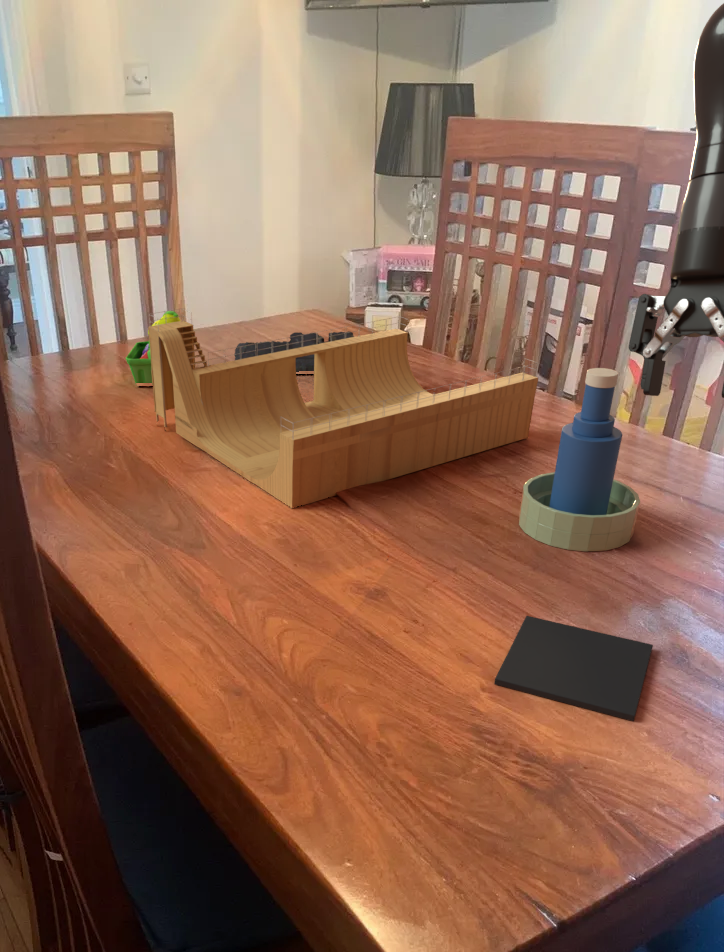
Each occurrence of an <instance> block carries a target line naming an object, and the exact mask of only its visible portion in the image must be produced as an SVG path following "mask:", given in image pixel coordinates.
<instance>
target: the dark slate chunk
mask: <svg viewBox="0 0 724 952" xmlns="http://www.w3.org/2000/svg"><path fill="white" fill-rule="evenodd" d="M348 332H350V333H348ZM310 333H311V334H309V333H303V332H292V333H291V334H290V335H289V337H290V338H289V340H285V341H278V340H274V341H273V340H271V341H269V342H266V340H265V341H260V342H258V341H256V342H249V341H246V342H240V343H238V344H237V345H236V347H237V348H234V354H236V355H234V354H233V356H234V360H239V359H244V358H249V357H254V356H257V353H258V356H260V355H265V354H270V353H275V352H280V351H285V350H290V349H295V348H300V347H305V346H310V345H316V335H317V332H316V333H314V332H310ZM343 333H345V334H343ZM304 334H306V335H304ZM338 334H340V335H338ZM298 335H300V336H298ZM333 335H335V336H333ZM293 336H295V337H293ZM328 336H330V337H328V338H327V339H328V340H327V341H325V337H324V338H322V337H323V336H322V335H320V334H318V338H319V339H318V342H317V344H321V343H326V342H330V340H331V338H332V341H336V340H341V339H344V338H345V339H346V338H351V337H355V335H354V332H353V331H350V330H348V331H337V332H336V331H332V332H329V333H328ZM312 339H314V340H312ZM307 340H309V341H307ZM303 341H304V342H303ZM261 342H263V343H261ZM296 342H298V343H296ZM257 343H258V344H257ZM291 343H293V344H291ZM251 344H253V345H251ZM286 344H287V345H286ZM245 345H247V346H245ZM281 345H283V346H281ZM241 346H242V347H241ZM276 346H278V347H276ZM271 347H272V348H271ZM265 348H267V349H265ZM260 349H262V350H260ZM255 350H256V351H255ZM250 351H252V352H250ZM245 352H247V353H245ZM239 353H240V354H239ZM314 356H315V354H312V355H307V356H302V357H297V358H296V372H299V371H314Z"/></svg>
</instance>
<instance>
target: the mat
mask: <svg viewBox="0 0 724 952" xmlns="http://www.w3.org/2000/svg"><path fill="white" fill-rule="evenodd" d="M653 648H654V646H653V644H651V643H647V642H644V641H643V642H642V641H639V640H634V639H629V638H625V637H621V636H617V635H612V634H608V633H604V632H599V631H595V630H592V629H587V628H582V627H578V626H573V625H570V624H565V623H560V622H556V621H553V620H548V619H543V618H539V617H535V616H531V615H526V616H525V618H524V620H523V622H522V624H521V626H520V628H519V630H518V632H517V633H516V636H515V638H514V640H513V642H512V643H511V646H510V648H509V650H508V652H507V654H506V655H505V658H504V660H503V662H502V663H501V665H500V668H499V670H498V671H497V674H496V677H495V678H494V683H493V684H494V685H496V686H499V687H504V688H507V689H511V690H514V691H518V692H522V693H524V694H525V693H526V694H530V695H534V696H537V697H540V698H544V699H548V700H551V701H556V702H560V703H564V704H567V705H570V706H574V707H578V708H581V709H585V710H590V711H592V712H597V713H601V714H605V715H607V716H612V717H615V718H619V719H624V720H627V721H631V722H634V721H635V719H636V715H637V710H638V706H639V702H640V698H641V694H642V691H643V688H644V687H643V686H644V682H645V679H646V675H647V671H648V667H649V663H650V658H651V656H652V655H651V654H652V651H653Z"/></svg>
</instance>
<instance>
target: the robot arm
mask: <svg viewBox="0 0 724 952" xmlns="http://www.w3.org/2000/svg"><path fill="white" fill-rule="evenodd" d="M692 75H693V78H692V81H693V104H694V106H693V108H694V121H695V130H696V140H695V146H694V150H693V156H692V161H691V167H690V174H689V179H688V184H687V188H686V192H685V196H684V199H683V202H682V205H681V211H680V215H679V220H678V221H679V222H678V224H677V232H676V239H675V245H674V251H673V256H672V262H671V267H670V274H669V275H670V287H669V290H668V292H667V293H666V295H653V294H649V293H648V294H647V293H643V294H641V295H640V296H639V297H638V300H637V305H636V310H635V315H634V319H633V324H632V329H631V333H630V338H629V343H628V350H629V351H630V352H632V353H636V354H638V355H640V356H642V358H643V365H642V373H641V378H640V390H642V392H643V395H644V396H651V397H659V396H660V395H661V391H662V385H663V380H664V374H665V373H664V372H665V368H666V363H667V362H666V360H663V359H664V358H665V357H666V356H667V354H668V353H669V352H671V350H672V349H673V348H674V347H675V346H676V345H678V344H679V343H681V342H682V341H683V339H684V338H685V337H687V338H699V337H703V336H705V337H710V338H718V339H719V340H721V341H722V342H723V343H724V2H723V3H722V4H720V5H719V7H717V8H716V10H715V11H713V13H712V14H711V16H710V17H709V18H708V20H707V21H706V23H705V25H704V27H703V29H702V31H701V34H700V36H699V39H698V41H697V45H696V48H695V54H694V61H693V74H692ZM663 310H665V312H666V314H667V317H666V318H665V319H664V320H663V322H662V323H661V324H660V325H659V326H658V328H657V329H656V327H657V324H658V320H659V317H660V316H661V315H663V313H664V311H663ZM721 398H722V399H724V382H723V384H722V390H721Z"/></svg>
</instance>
